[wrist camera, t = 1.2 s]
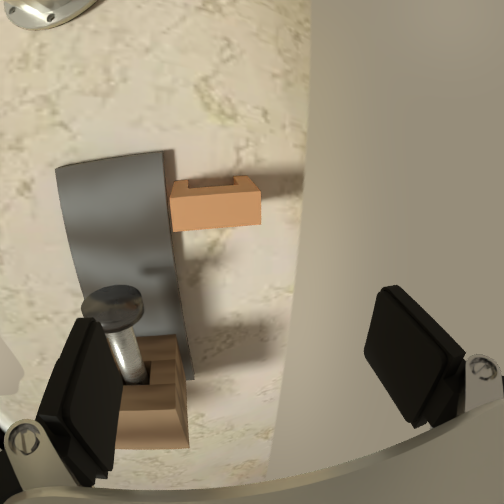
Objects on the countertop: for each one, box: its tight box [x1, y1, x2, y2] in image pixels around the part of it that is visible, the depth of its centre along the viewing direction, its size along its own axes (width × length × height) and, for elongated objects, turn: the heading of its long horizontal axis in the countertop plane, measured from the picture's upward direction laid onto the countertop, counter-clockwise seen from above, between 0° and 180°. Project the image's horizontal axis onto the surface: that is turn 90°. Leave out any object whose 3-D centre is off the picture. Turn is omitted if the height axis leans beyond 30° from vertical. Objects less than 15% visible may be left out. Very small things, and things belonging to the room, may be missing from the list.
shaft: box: [81, 285, 150, 385], centre depth 26 cm, size 16×5×5 cm, turn 1°
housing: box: [55, 151, 195, 449], centre depth 25 cm, size 26×10×11 cm, turn 1°
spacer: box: [170, 176, 261, 232], centre depth 24 cm, size 2×6×6 cm, turn 91°
